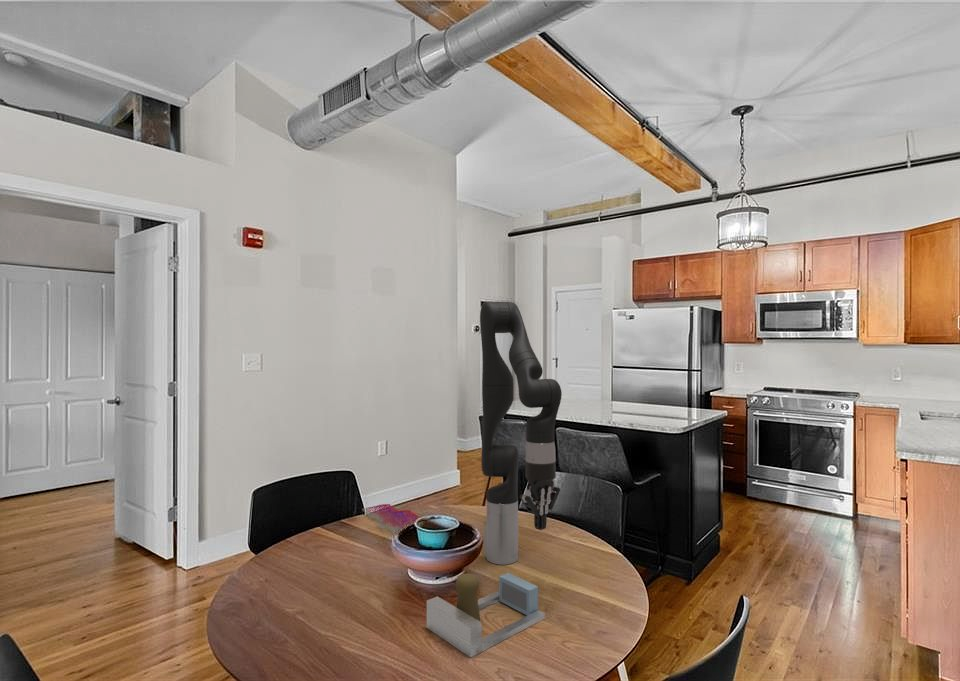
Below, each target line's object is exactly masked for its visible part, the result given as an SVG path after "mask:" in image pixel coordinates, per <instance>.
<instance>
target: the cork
mask: <svg viewBox="0 0 960 681" xmlns="http://www.w3.org/2000/svg"><path fill="white" fill-rule="evenodd" d="M479 586H480V581H479V578H478V576H477V575H476V574H473V573H462V574H460V575H458V576H457V578H456V581H455V587H456V591H457V599H456V605H455V607H456V608H458V609H460V610H461V611H463V612H465V613H466V614H468V615H470V616H472V617H473V618H475V619H477V620H478V621H480V622H481V616H480V610H479V607H478V600H479V599H478V592H477V591H478V590H479Z"/></svg>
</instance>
